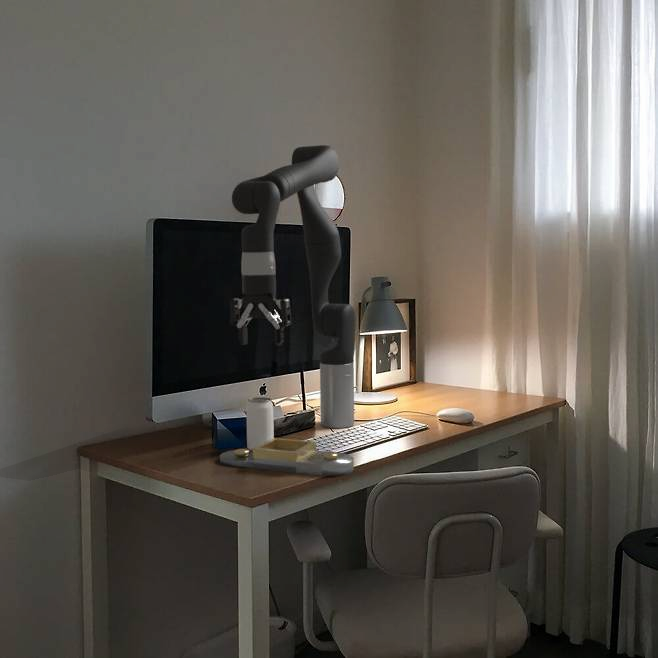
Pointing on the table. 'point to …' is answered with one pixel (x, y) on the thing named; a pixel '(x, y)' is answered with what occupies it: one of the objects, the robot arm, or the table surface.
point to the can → (259, 421)
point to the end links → (290, 458)
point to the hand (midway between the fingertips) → (261, 344)
